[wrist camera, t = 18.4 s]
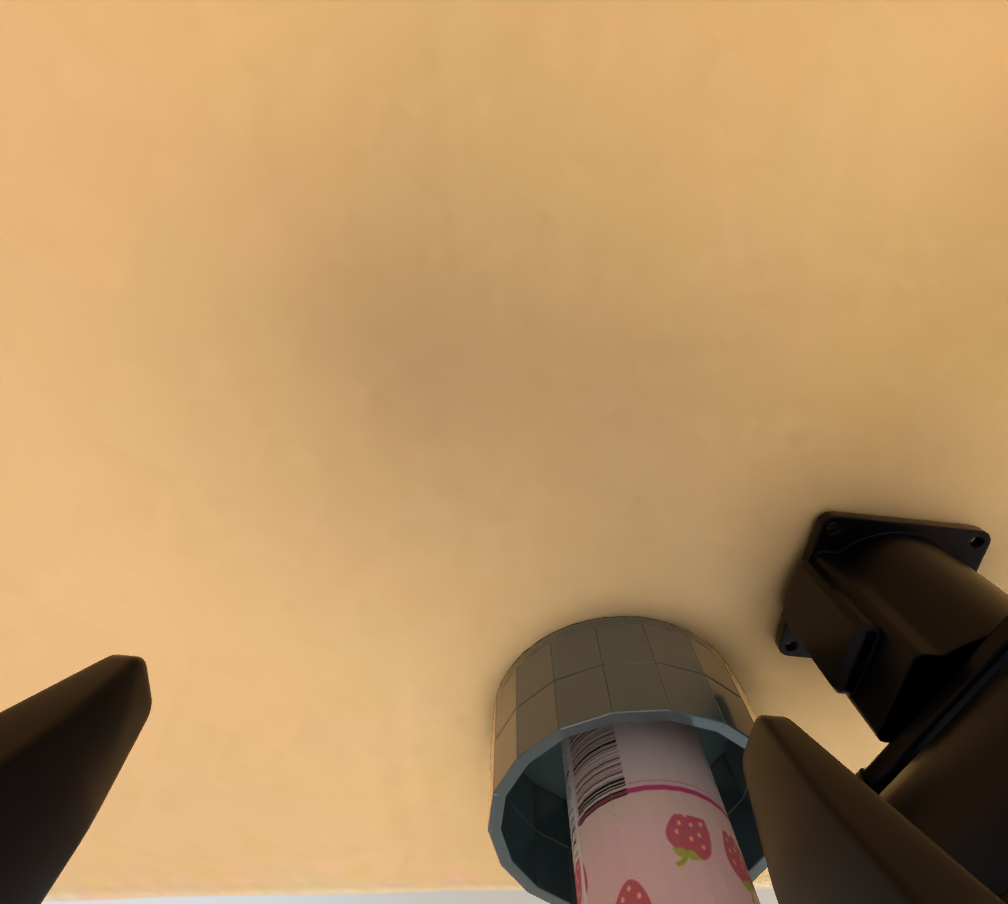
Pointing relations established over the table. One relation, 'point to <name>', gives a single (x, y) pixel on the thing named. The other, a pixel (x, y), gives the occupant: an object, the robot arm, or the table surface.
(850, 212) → the table surface
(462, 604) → the table surface
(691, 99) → the table surface
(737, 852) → the beverage can
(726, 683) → the dark round bowl
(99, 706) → the robot arm
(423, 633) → the table surface
